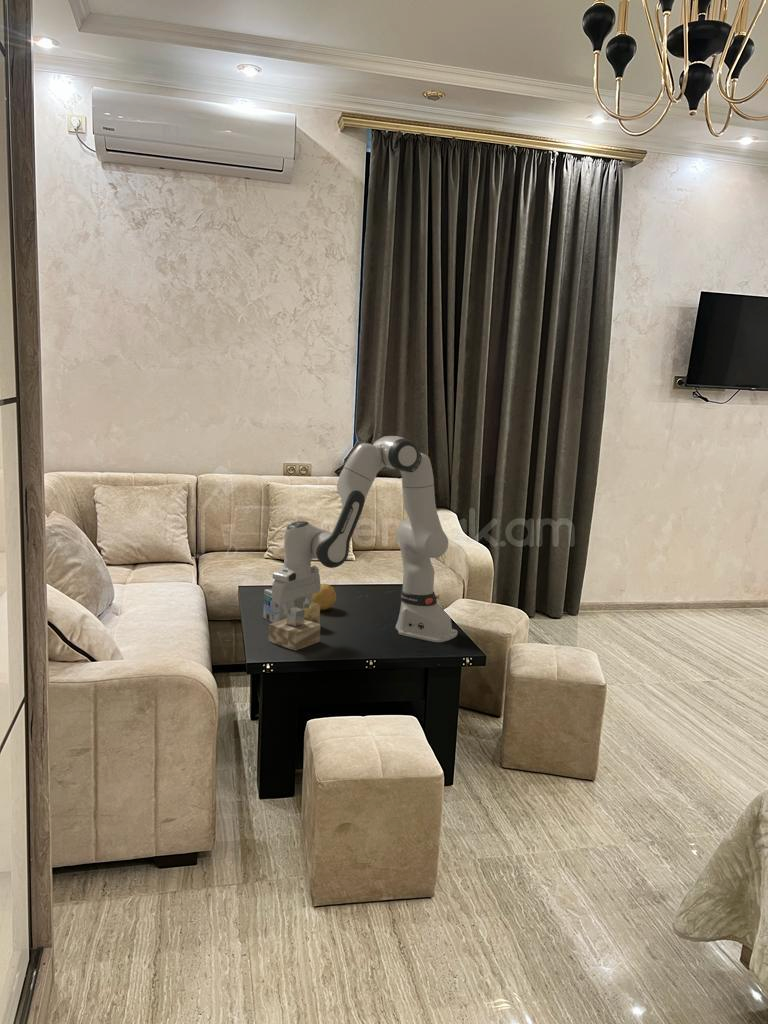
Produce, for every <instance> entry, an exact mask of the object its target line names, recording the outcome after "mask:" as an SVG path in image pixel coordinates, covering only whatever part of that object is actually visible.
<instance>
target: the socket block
mask: <svg viewBox="0 0 768 1024" xmlns="http://www.w3.org/2000/svg"><path fill="white" fill-rule="evenodd" d="M320 640H321V624H320V623H319V624H317V623H314V622H311V621H308V620H305V619H304V625H303V626H300V627H297V628H294V627H291V626H287V619H284V620H281V621H278V622H275V623H272V622H271V623H270V624H268V642H269V643H272V644H275V645H278V646H280V647H284V648H287V649H289V650H293V651H298V650H300V649H301V650H302V649H304V648H306V647H309V646H311V645H315V644H317V643H319V642H320Z"/></svg>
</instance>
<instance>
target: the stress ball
mask: <svg viewBox="0 0 768 1024" xmlns="http://www.w3.org/2000/svg"><path fill="white" fill-rule="evenodd" d="M320 584H321V589H320V591H319V592H318V593H315V594H313V597H312V599H311V602H310V603H317V604H320V611H326V610H328V609H331V608H332V606H334V604H335V602H336V601H337V592H336V590H335V588H334V586H332V585H330V584H327V583H320Z"/></svg>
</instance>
